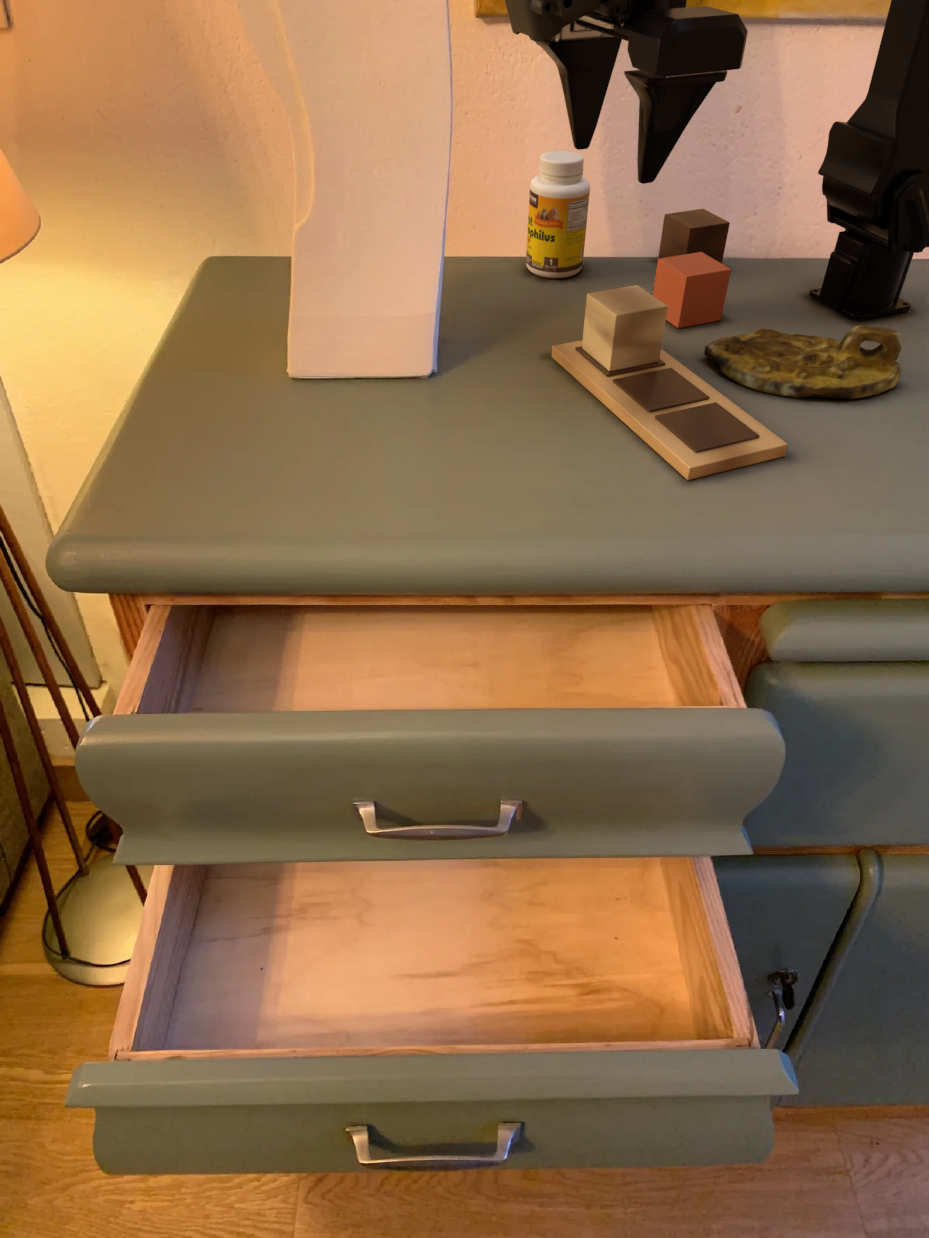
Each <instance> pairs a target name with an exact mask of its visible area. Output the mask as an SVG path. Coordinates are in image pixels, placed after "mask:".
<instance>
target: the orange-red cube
mask: <svg viewBox="0 0 929 1238" xmlns="http://www.w3.org/2000/svg"><path fill="white" fill-rule="evenodd" d="M655 270H656V271H655V276H654V283H653V291H652V296H654V297H655V298H657V299H658V300H660V301H661V302H663V303H664V304H666V305H667V306H668V308H667V315H666V321H667V322H668V323H670V324H672V326H674V327H675V328H677V329H682V328H687V327H692V326H697V325H703V324H709V323H712V322H719V321H722V317H723V311H724V307H725V304H726V303H725V302H726V297H727V292H728V287H729V283H730V277H731V272H732V269H731V268H730V267H728V266H727V265H725V264H723V263H722V264H721V263H720V262H718V261H716V260H714V259H713V258H711V257H709V256H708V255H706V254H704V253H702V252H697V253H691V254H685V255H679V256H672V257H666V258H660V259H658V258H657V264H656V269H655Z"/></svg>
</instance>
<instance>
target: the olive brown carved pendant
mask: <svg viewBox="0 0 929 1238" xmlns="http://www.w3.org/2000/svg"><path fill="white" fill-rule="evenodd" d="M863 342H873V343H877V344H879V345H878V346H876V347H874V348H872V349H868V348H864V347H862V346H861V344H862V343H863ZM902 349H903V347H902V337H901V333H900V332H899V331H898V330H895V329H892V328H888V327H877V326H869V325H864V324H863V325H862V324H861V325H860V324H859V325H856V326H854V327H852V328H851V329H849V330H848V331H847V332H846V333H844V334H843V337H842V339H841V340H840V341H839V340H838V339H834V338H830V337H825V336H824V337H823V336H819V335H808V334H807V335H806V334H798V333H787V332H782V331H778V330H775V329H772V328H765V327H762V328H756V329H755V331H754V332H752V333H743V334H742V333H741V334H739V335H731V336H723V337H719V338H717V339H714V340H713V341H711V342H709V343H708V344H706V345H705V346H704V352H703V354H704V356H705V357H706V358H709V359H710V360H711V361H712V362H713V363H714V364H716V365H717V366H719V369H720V372H721V373H722V374H723V375H725V376H726V377H728V379H731V380H733V381H735V382H736V383H738V384H740V385H742V386H744V387H747V388H751V389H753V390H756V391H760V392H763V393H768V394H771V395H779V396H785V397H792V398H804V397H808V398H824V399H846V400H847V399H848V400H851V399H861V398H867V397H872V396H877V395H879V394H881V393H883V392H885V391H888V390H891V389H893V388H895V387H896V386H897V385H898V383H899V380H900V378H901V375H902V371H903V365H902V364H901V363H900V362H898V361H897V360H898V359H899V358H900V354H901V351H902Z"/></svg>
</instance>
